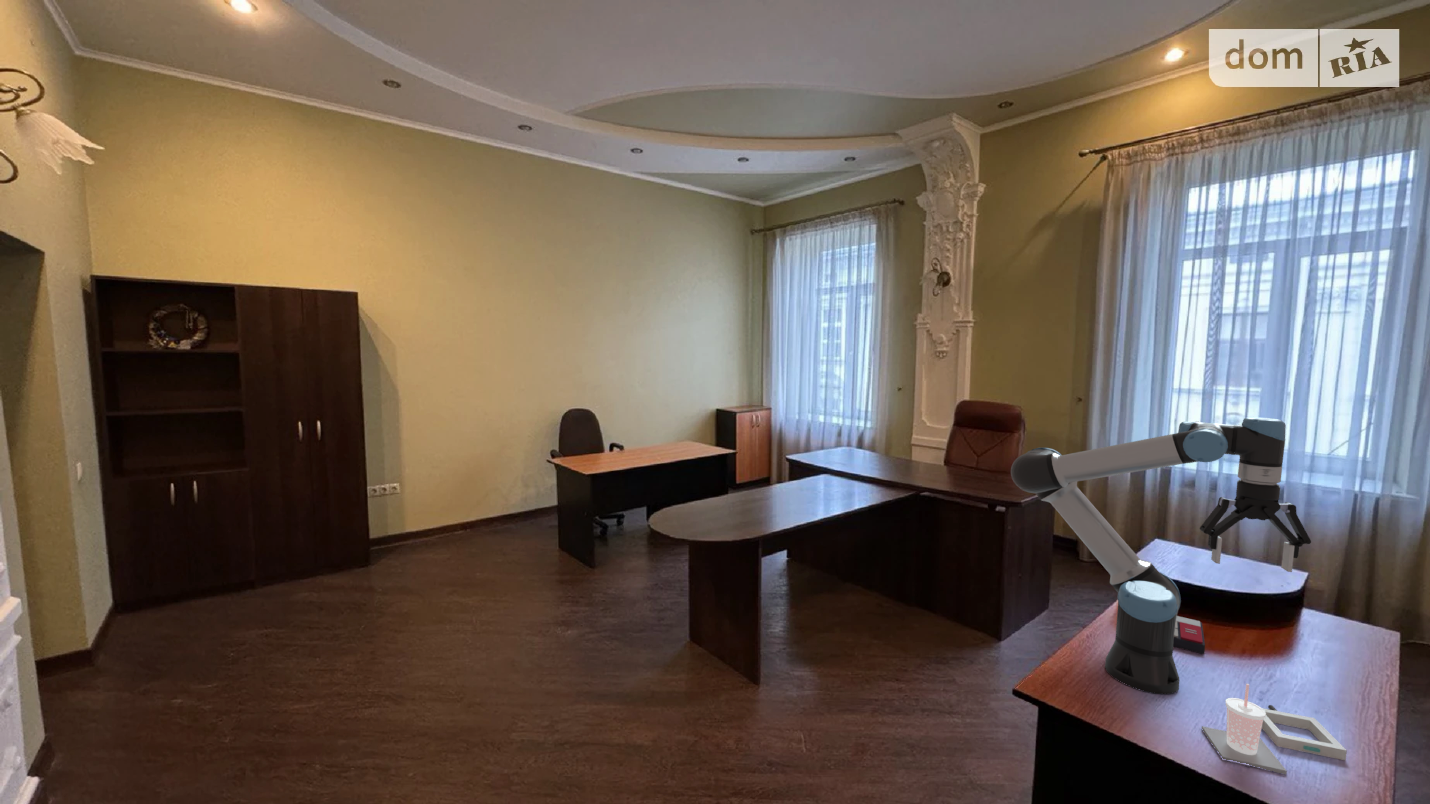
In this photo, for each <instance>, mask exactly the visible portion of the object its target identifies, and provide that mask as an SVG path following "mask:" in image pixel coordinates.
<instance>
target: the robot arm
mask: <svg viewBox="0 0 1430 804" xmlns="http://www.w3.org/2000/svg"><path fill="white" fill-rule="evenodd" d="M1286 429H1287V427H1286V423H1285V422H1284V421H1283V420H1281V419H1277V418H1271V417H1270V418H1269V417H1254V416H1253V417H1248V416H1247V417H1245V418H1243V420H1242V422H1241V424H1229V423H1228V424H1226V423H1225V424H1224V423H1215V422H1214V423H1211V422H1203V421H1201V422H1200V421H1182V422H1181V423H1179V425H1178V432H1176V433H1171V434H1166V435H1160V436H1155V437H1150V438H1145V439H1140V440H1135V441H1130V442H1125V443H1119V444H1115V445H1109V446H1102V447H1098V448H1093V449H1088V450H1083V451H1077V452H1072V453H1068V454H1063V455H1062V454H1061V453H1060V452H1059V451H1057V450H1055V449H1053V448H1049V447H1037V448H1033V449H1031V450H1028V451H1027V452H1025V453H1024V454H1021V455H1020V456H1018V457H1017V458H1015V460H1013V463H1012V465H1011V467H1010V476H1011V479H1012V481H1013V483H1014V484H1015V486H1016V487H1018V488H1019V489H1020V490H1021V491H1024V492H1025V493H1026V492H1027V493H1031V494H1035V495H1036V496H1037V497H1038V499H1039V500H1040V501H1041V502H1042V501H1043V502H1047V503H1050V504H1051V506H1052V507H1053V508H1054V509H1055V511H1056V512H1058V514H1059V515H1060V517H1062V518H1063V520H1064V521H1065V522H1066V523H1067V525H1068V526H1069V527H1070V528H1071V529H1072V531H1073V532H1074V533H1075V534H1076V536H1077V537H1078V538H1079V539H1080V540H1081V542H1083V544H1084V545H1085V546H1086V547H1087V548H1088V550H1089V552H1091V554H1092V555H1093V556H1094V557H1095V558H1096V559H1097V560H1098V562H1099V563H1100V564H1101V565H1102V566H1103V568H1104V569H1105V570H1106V571H1107V572H1108V574H1109V575H1110V579H1109V584H1110V585H1111V586H1112V587H1113V589H1114V590H1115V591H1116V593H1117V596H1116V597H1117V598H1116V599H1117V613H1116V615H1117V616H1116V624H1115V625H1116V626H1115V638H1114V639H1115V640H1114V642H1113V644H1112V645H1111V647H1110V649H1109V651H1108V653H1107V655H1106V656H1105V663H1104V664H1105V665H1104V668H1106V669H1105V670H1107V671H1106V672H1107V673H1108V675H1110V676H1111V675H1112V676H1113V677H1114V678H1113V677H1112V676H1111V677H1112V678H1113V679H1115V678H1116V679H1117V680H1116V679H1115V680H1116V681H1118V680H1119V681H1118V682H1120V681H1121V682H1123V683H1125V684H1127V685H1126V686H1128V685H1130V686H1131V688H1133V687H1134V688H1133V689H1135V688H1137V689H1136V690H1138V689H1140V690H1139V691H1141V690H1142V691H1143V692H1145V693H1149V692H1151V694H1155V695H1171V694H1175V693H1177V692H1178V691H1179V688H1180V682H1181V681H1180V676H1179V673H1178V669H1177V666H1176V664H1175V659H1174V657H1173V654H1174V653H1173V652H1174V646H1173V642H1174V631H1175V622H1176V617H1177V616H1178V613H1179V610H1180V607H1181V603H1182V600H1181V599H1182V598H1181V594H1180V590H1179V588H1178V586H1177V584H1176V583H1175V582H1174V581H1173V580H1172V578H1170V577H1169V576H1168V575H1166V574H1165V573H1163V572H1161V571H1159V570H1158V569H1157V568H1156V566H1154V564H1153V563H1152V562H1151V561H1149V560H1148V561H1147V560H1144V559H1141V558H1139V556H1138V555H1137V553H1135V551H1134V550H1133V549H1132V548H1131V547H1130V546H1129V544H1127V543H1126V541H1125V540H1124V539H1123V538H1122V537H1121V536H1120V533H1118V532H1117V530H1115V529H1114V528H1113V526H1112V525H1111V524H1110V523H1109V522H1108V521H1107V519H1106V518H1105V517H1104V516H1103V515H1102V513H1100V511H1099V510H1098V509H1097V508H1096V507H1095V506H1094V504H1093V503H1092V502H1091V501H1090V500H1089V499H1088V497H1087V496H1086V495H1085V494H1084V493H1083V492H1082V491H1081V489H1080V488H1079V486H1078V482H1082V481H1090V480H1094V479H1099V478H1106V477H1113V476H1118V475H1123V474H1130V473H1136V472H1142V471H1149V470H1154V469H1160V468H1161V469H1162V468H1166V467H1171V466H1179V465H1182V464H1183V465H1184V464H1185V465H1186V464H1191V463H1192V464H1193V463H1197V462H1200V463H1212V462H1215V461H1217V460H1220V459H1221V458H1222V457H1224V455H1233V456H1239V459H1238V460H1239V461H1238V470H1237V477H1238V478H1239V479H1238V480H1237V481H1236V490H1235V491H1236V492H1235V493H1236V495H1235V498H1234V499H1229V498H1225V497H1224V496H1221V497H1219V498H1218V501H1217V505H1216V507H1215V508H1214V509H1213V510H1212V511H1211V513H1210V514H1209V515H1208V516H1207V518H1206V519H1205V520H1204V521H1203V523H1202V524H1201V525H1200V527H1199V530H1200V532H1202V533H1204V534H1206V535H1208V539H1207V540H1208V542H1207V546H1208V548H1209V549H1210V550H1211V556H1210V558H1211V559H1210V560H1212V561H1211V562H1214V564H1221V557H1222V544H1223V537H1220V536H1221V535H1222V534H1224V533H1225V532H1226V531H1227V530H1229V529H1230V528H1232V527H1233V526H1234V525H1235V524H1237V523H1238V522H1239V521H1242V520H1245V519H1248V520H1259V521H1267V520H1268V521H1269V522H1270V523H1272V525H1273V526H1274V527H1275V528H1276V529H1277V530H1278V531H1279V532H1280V533H1281V534H1282V535H1283V536H1284V538H1285V539H1286V540H1287V541H1288V542H1287V541H1284V542H1283V546H1282V547H1283V549H1282V558H1281V569H1283V570H1284V571H1286V572H1288V573H1292V572H1293V566H1294V565H1293V564H1294V559H1298V557H1299V552H1300V547H1303V545H1305V544H1306V545H1310V544H1311V543H1312V540H1311V538H1310V537H1309V535H1308V533H1307V531H1306V529H1305V527H1304V526H1303V524H1302V522H1301V520H1300V518H1299V516H1298V514H1297V506H1296V505H1295V504H1292V503H1290V502H1288V501H1286V502H1284V503H1280V502H1279V499H1280V493H1281V485H1280V484H1279V483H1280V482H1282V472H1283V463H1284V462H1283V461H1284V455H1285V453H1284V452H1285V447H1286V446H1285V445H1286V432H1287V431H1286ZM1232 506H1234V507H1235V509H1234V510H1232V511H1231V513H1230V514H1229V515H1228V516H1226V517H1225V518H1223V519H1222V517H1223V516H1224V515H1225V514H1226V513H1227V512H1228V509H1229V508H1231V507H1232ZM1280 510H1281V512H1283V513H1284V514H1285V517H1286V518H1287V520H1288V522H1289V524H1290V526H1291V527H1292V529H1293V531H1294V533H1295V535H1296V536H1297V537H1296V536H1295V535H1294V533H1293V532H1292V531H1290V529H1289V528H1288V527H1287V526H1286V525H1285V523H1283V522H1282V521H1281V520H1280V518H1279V517H1278V516H1277V515H1276V513H1278V511H1280ZM1221 519H1222V520H1221ZM1220 520H1221V521H1220ZM1121 682H1120V683H1121ZM1123 683H1122V684H1123ZM1125 684H1124V685H1125ZM1130 686H1129V687H1130Z"/></svg>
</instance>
